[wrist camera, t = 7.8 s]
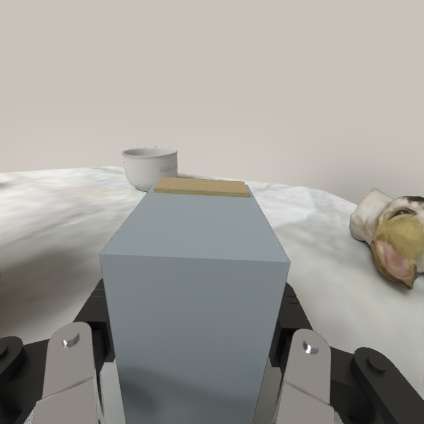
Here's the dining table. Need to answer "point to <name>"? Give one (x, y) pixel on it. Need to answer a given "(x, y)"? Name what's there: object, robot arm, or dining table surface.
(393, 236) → the ceramic sculpture
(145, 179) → the teacup
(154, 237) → the keyed plug
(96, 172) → the dining table surface
